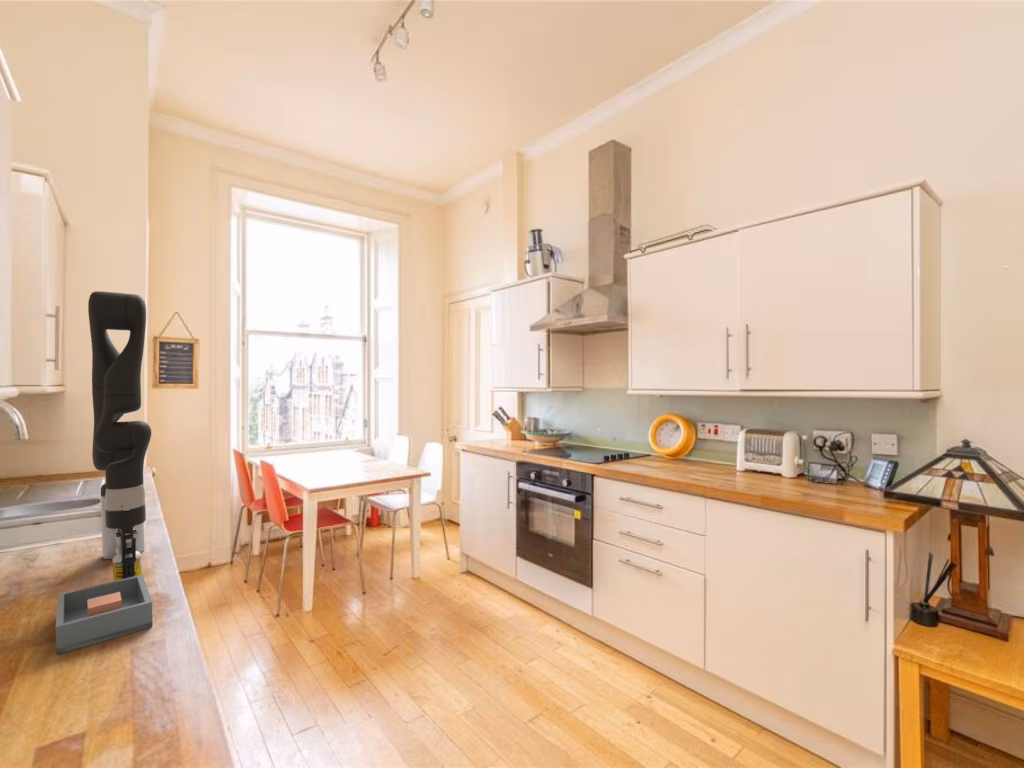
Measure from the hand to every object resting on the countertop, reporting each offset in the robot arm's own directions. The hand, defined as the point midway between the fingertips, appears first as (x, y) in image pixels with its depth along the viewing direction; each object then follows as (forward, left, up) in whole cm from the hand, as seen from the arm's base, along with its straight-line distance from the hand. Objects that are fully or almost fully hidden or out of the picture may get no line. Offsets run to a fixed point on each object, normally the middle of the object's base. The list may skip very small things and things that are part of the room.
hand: (127, 574), depth 116 cm
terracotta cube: (+23, +5, -1) cm, 23 cm away
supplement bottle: (0, 0, -3) cm, 3 cm away
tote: (+19, +3, -2) cm, 20 cm away
